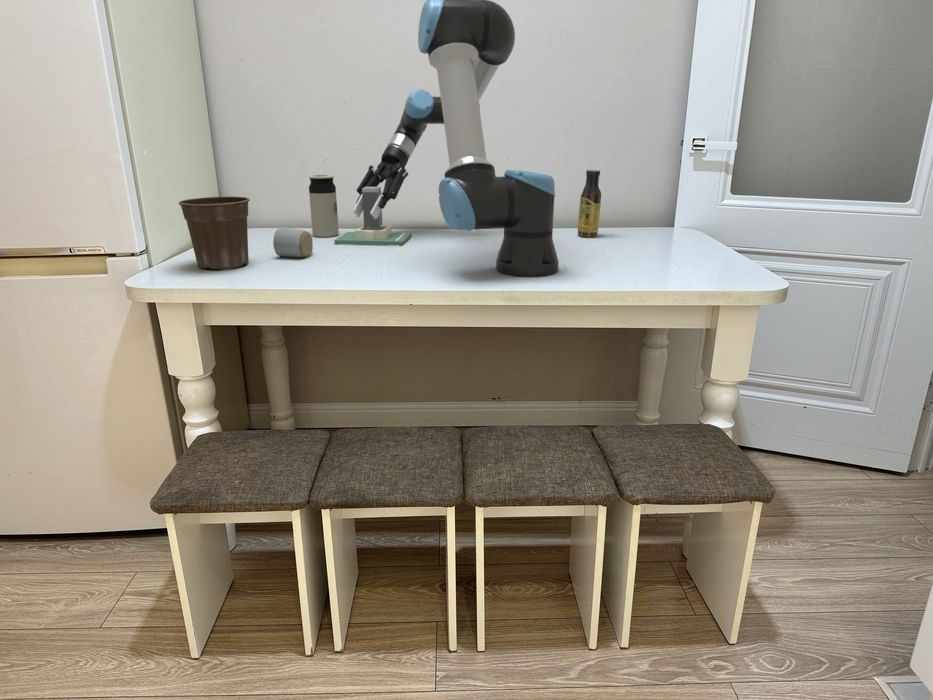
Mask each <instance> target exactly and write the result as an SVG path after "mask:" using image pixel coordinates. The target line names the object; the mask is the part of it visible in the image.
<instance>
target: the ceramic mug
mask: <svg viewBox="0 0 933 700" xmlns="http://www.w3.org/2000/svg"><path fill="white" fill-rule="evenodd" d="M272 243H273V249H274V252H275V254H276V255H277V256H278V257H281V256H282V257H281V258H298V257H300V258H301V257H303V258H307V257H309V255H310V254H311V253H312V252H313V237H312V235H311V234H310V232H308V231H306V230H304V229H298V228H292V227H283V226H281V227H278V228H277V229H276V231H275V232H274V235H273V242H272ZM300 258H299V259H300ZM301 259H302V258H301Z"/></svg>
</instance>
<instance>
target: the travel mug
mask: <svg viewBox="0 0 933 700" xmlns="http://www.w3.org/2000/svg"><path fill="white" fill-rule="evenodd" d="M308 178H309V180H310V181H309V182H310V183H309V185H308V192H309V193H308V194H309V204H310V205H309V206H310V217H311V219H310V220H311V229H312V231H311V232H312V235H313V236H314V237H316V238H333V237H336V235H337V236H339V234H340V232H339V231H340V230H339V216H338V203H337V202H338V201H337V188H336V185H335V182H334V178H335V175H334V174H312V175H308ZM332 236H333V237H332Z"/></svg>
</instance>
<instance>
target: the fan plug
mask: <svg viewBox="0 0 933 700" xmlns="http://www.w3.org/2000/svg"><path fill="white" fill-rule="evenodd" d="M379 195H382V187H381V186H377V187H364V188H362V198H363V211H362V215H363V225H364V227H380V226H384V225H383V209H382V210H381V212H380V214H379V216H378V218H377V219H374V217H373V216H372V215H371V214H370V212H371V210H372V209H373V207H374V205H375V203H376V201H377V199H378V197H379Z"/></svg>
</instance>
